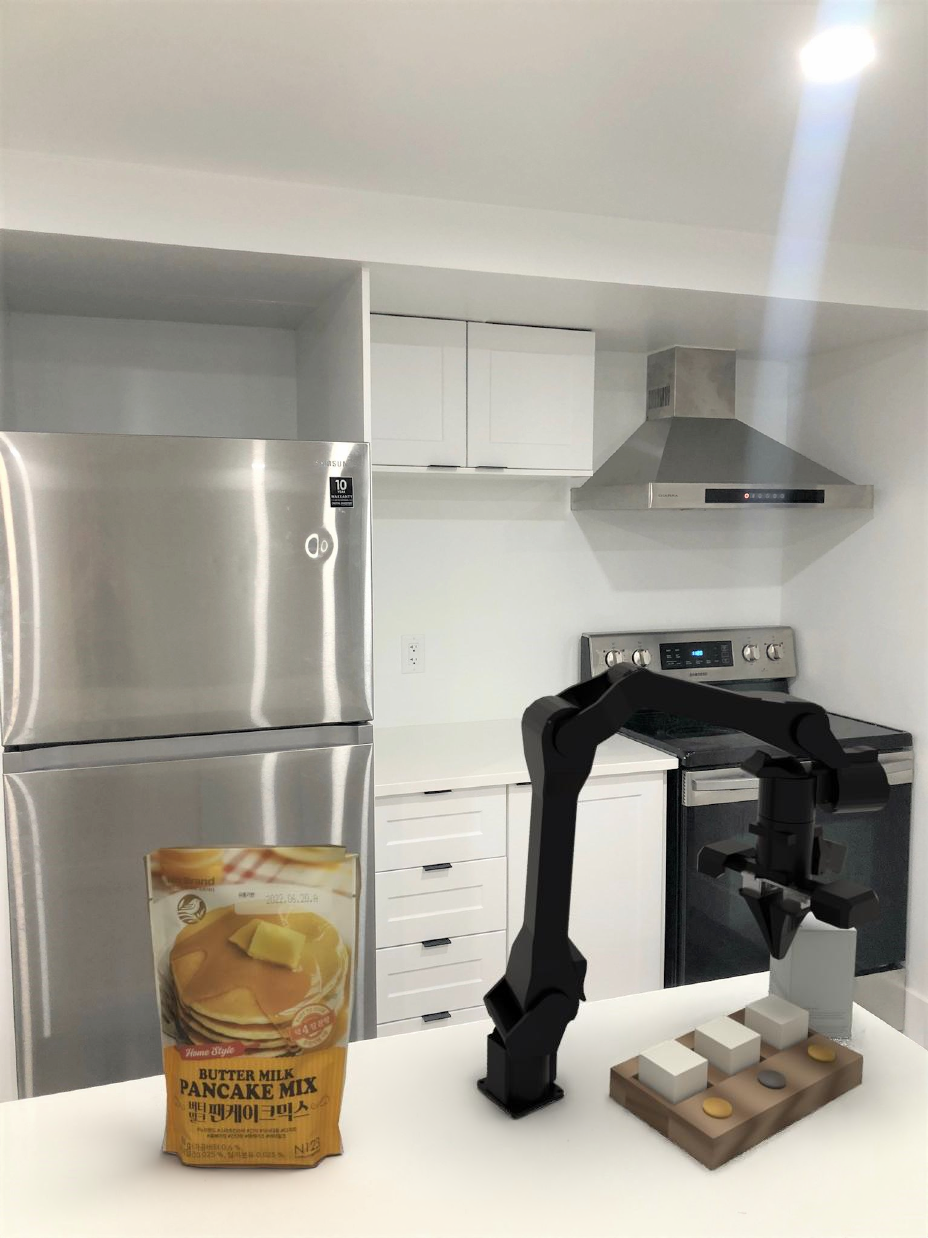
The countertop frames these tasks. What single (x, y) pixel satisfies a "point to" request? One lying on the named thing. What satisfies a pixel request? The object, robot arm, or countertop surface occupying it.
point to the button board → (743, 1096)
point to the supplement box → (819, 976)
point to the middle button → (727, 1045)
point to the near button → (673, 1071)
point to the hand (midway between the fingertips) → (778, 958)
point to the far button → (777, 1021)
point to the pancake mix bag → (254, 998)
